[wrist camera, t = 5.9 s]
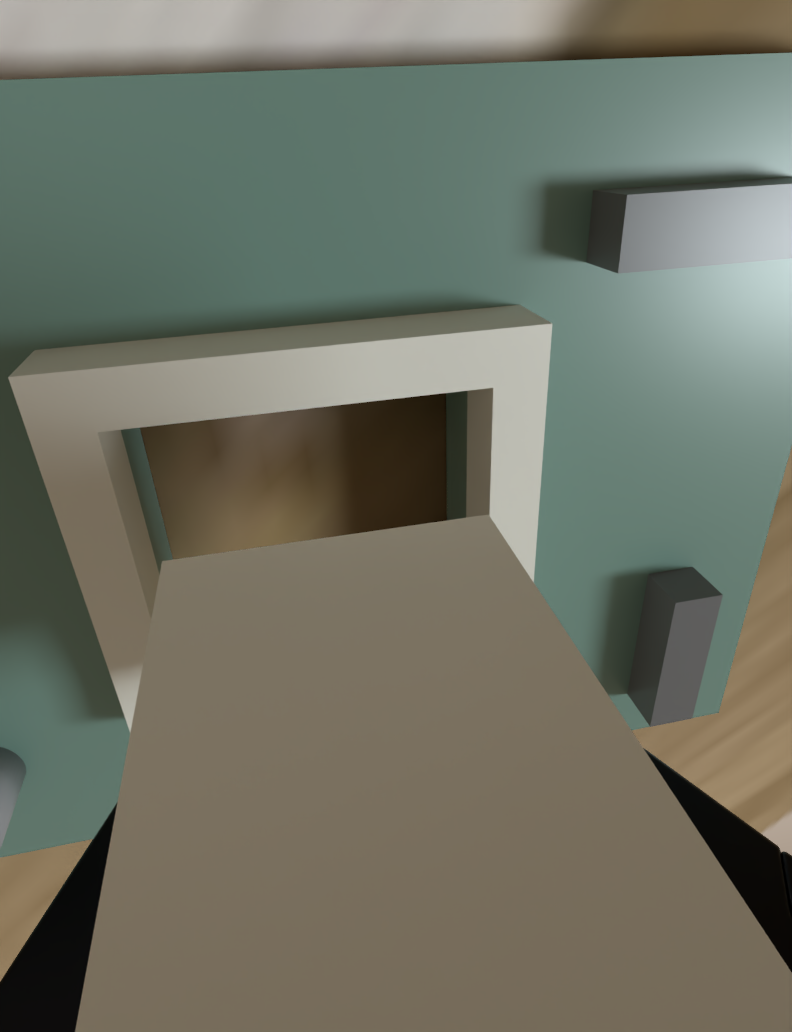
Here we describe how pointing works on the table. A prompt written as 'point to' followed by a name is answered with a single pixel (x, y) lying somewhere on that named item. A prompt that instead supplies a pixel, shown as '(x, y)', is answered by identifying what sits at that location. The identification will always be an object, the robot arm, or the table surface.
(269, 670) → the plug
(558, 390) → the board
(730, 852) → the robot arm
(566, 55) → the table surface
